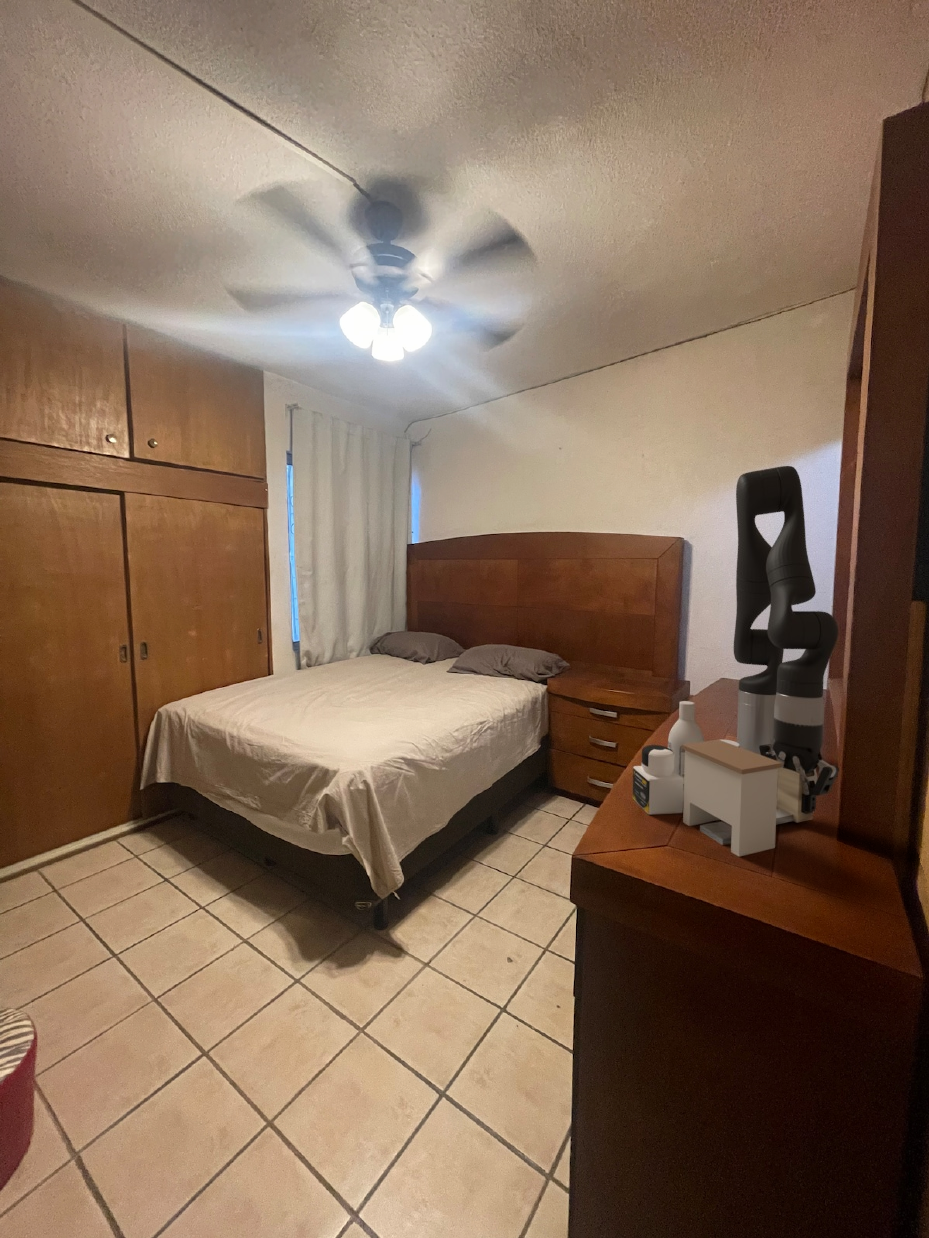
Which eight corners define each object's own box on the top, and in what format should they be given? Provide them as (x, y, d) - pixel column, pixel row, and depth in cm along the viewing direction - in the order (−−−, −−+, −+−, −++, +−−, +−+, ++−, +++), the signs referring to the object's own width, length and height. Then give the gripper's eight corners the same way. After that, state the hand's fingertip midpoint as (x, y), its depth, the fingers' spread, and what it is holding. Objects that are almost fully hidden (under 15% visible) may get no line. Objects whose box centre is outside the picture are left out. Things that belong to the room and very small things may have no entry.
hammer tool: (791, 809, 91) (793, 764, 90) (812, 819, 87) (814, 771, 87) (728, 823, 86) (730, 775, 85) (748, 833, 82) (750, 783, 81)
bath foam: (710, 798, 98) (713, 704, 96) (687, 805, 95) (690, 708, 93) (682, 786, 104) (684, 697, 103) (659, 792, 101) (661, 700, 100)
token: (721, 829, 86) (722, 821, 86) (745, 843, 82) (745, 834, 81) (699, 833, 85) (700, 825, 85) (722, 847, 80) (722, 839, 80)
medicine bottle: (631, 798, 98) (632, 742, 97) (664, 797, 98) (666, 741, 98) (648, 815, 91) (649, 754, 90) (683, 813, 91) (684, 753, 91)
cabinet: (716, 814, 91) (718, 739, 90) (778, 848, 79) (782, 762, 78) (679, 821, 88) (681, 744, 87) (739, 858, 76) (742, 769, 75)
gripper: (854, 726, 82) (849, 821, 83) (776, 707, 95) (773, 789, 96) (824, 730, 79) (819, 828, 80) (748, 710, 93) (745, 794, 94)
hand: (794, 806), depth 88 cm, fingers closed on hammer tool, 4 cm apart
